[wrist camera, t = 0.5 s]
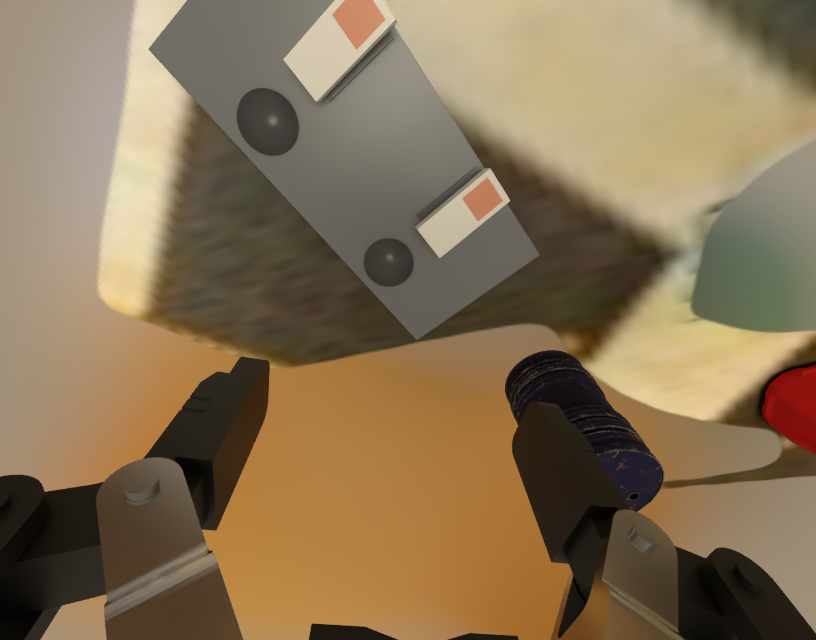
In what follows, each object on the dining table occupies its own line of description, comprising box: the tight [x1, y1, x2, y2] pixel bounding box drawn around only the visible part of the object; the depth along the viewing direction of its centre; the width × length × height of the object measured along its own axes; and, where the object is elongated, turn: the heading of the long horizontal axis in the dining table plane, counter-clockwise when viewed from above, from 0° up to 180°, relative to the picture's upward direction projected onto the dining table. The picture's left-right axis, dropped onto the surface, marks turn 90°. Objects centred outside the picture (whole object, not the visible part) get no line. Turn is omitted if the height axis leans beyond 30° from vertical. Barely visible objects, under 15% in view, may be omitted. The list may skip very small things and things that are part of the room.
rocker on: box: [415, 168, 510, 258], centre depth 29 cm, size 7×3×1 cm, turn 128°
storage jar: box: [505, 350, 664, 512], centre depth 39 cm, size 10×10×15 cm
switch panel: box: [149, 0, 539, 340], centre depth 31 cm, size 14×30×4 cm, turn 38°
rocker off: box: [283, 0, 397, 102], centre depth 24 cm, size 7×3×1 cm, turn 128°
